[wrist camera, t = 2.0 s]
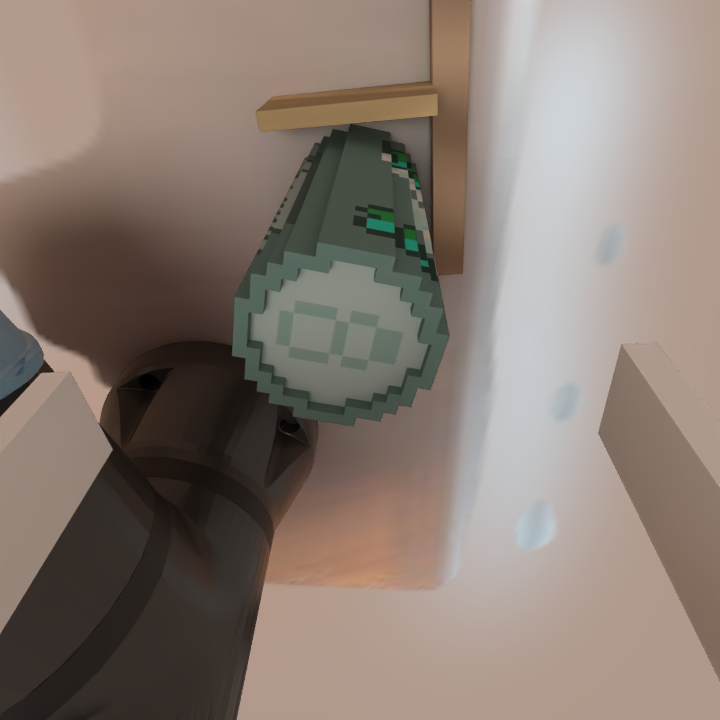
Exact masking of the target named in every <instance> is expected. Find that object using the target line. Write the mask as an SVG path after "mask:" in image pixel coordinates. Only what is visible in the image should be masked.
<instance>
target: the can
mask: <svg viewBox="0 0 720 720" xmlns="http://www.w3.org/2000/svg"><path fill="white" fill-rule="evenodd" d="M448 339H449V331H448V326H447V321H446V315H445V310H444V305H443V300H442V295H441V290H440V285H439V280H438V275H437V269H436V264H435V259H434V254H433V249H432V244H431V239H430V234H429V229H428V223H427V218H426V213H425V208H424V203H423V198H422V193H421V188H420V183H419V179H418V174H417V169H416V164H415V163H411V158H410V154H407V153H405V148H404V144H401V143H396V142H391V140H390V132H386V131H381V130H377V129H372V128H367V127H362V126H358V125H353V124H350V127H349V131H348V132H344V131H339V130H334V129H333V131H332V133H331V136H330V137H326V136H324V137H323V140H322V142H321V144H318V143H315V144H314V146H313V148H312V150H311V152H310V154H309V156H308V158H305V159H304V161H303V163H302V165H301V167H300V169H299V171H298V173H297V175H296V177H295V179H294V181H293V183H292V185H291V187H290V189H289V191H288V193H287V195H286V197H285V199H284V201H283V203H282V204H281V206H280V208H279V210H278V212H277V214H276V216H275V218H274V220H273V222H272V224H271V226H270V228H269V230H268V232H267V234H266V236H265V238H264V240H263V242H262V244H261V246H260V248H259V250H258V252H257V254H256V256H255V258H254V260H253V262H252V264H251V266H250V267H249V269H248V271H247V273H246V275H245V277H244V279H243V281H242V283H241V285H240V287H239V289H238V291H237V293H236V295H235V298H234V322H233V346H232V356H235V357H241V358H246V361H245V377H244V379H246V380H252V381H258V382H257V391H258V392H264V393H270V394H269V403H272V404H278V405H284V406H290V407H294V410H293V417H299V418H305V419H311V420H318V421H324V422H330V423H336V424H342V425H348V426H354V424H355V420H356V418H362V419H368V420H374V421H380V422H381V419H382V415H383V413H389V414H395V415H396V412H397V409H398V406H399V405H400V406H406V407H411V406H412V403H413V400H414V397H415V394H416V391H417V388H421V389H427V390H431V387H432V384H433V381H434V379H435V376H436V373H437V370H438V367H439V364H440V362H441V359H442V356H443V353H444V350H445V347H446V345H447V342H448Z"/></svg>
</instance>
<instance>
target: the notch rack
mask: <svg viewBox="0 0 720 720" xmlns="http://www.w3.org/2000/svg"><path fill="white" fill-rule="evenodd" d="M429 5H430V81H427V82H417V83H407V84H397V85H387V86H377V87H367V88H357V89H347V90H337V91H327V92H317V93H307V94H296V95H286V96H276V97H272V98H271V99H270V100H269V101H267V102H266V103H265V104H264V105H263V106H262V107H260V108H259V109H258V110H257V111H256V116H257V121H258V126H259V131H260V132H265V131H276V130H286V129H297V128H308V127H318V126H329V125H340V124H350V123H361V122H372V121H383V120H393V119H404V118H415V117H425V116H430V123H431V242H432V249H433V254H434V259H435V264H436V269H437V275H450V274H463V249H464V217H465V186H466V154H467V123H468V91H469V59H470V28H471V0H429Z"/></svg>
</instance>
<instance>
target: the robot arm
mask: <svg viewBox="0 0 720 720" xmlns="http://www.w3.org/2000/svg"><path fill="white" fill-rule="evenodd" d="M43 355H44V354H43V351H42V349H41V347H40V345H39V343H38V342H37V340H36V339H35V338H34V337H33V336H32V335H30V334H29V333H27V332H25V331H22V330H20V329H18V328H17V327H16V326H15V325H14V324H13V323H12V322H11V321H10V320H9V319H8V318H7V317H6V316H5V315H4V313H3V312H2V311H1V310H0V720H236V719H237V714H238V709H239V705H240V700H241V694H242V689H243V685H244V680H245V675H246V670H247V665H248V660H249V655H250V650H251V645H252V640H253V635H254V630H255V624H256V620H257V615H258V610H259V605H260V600H261V595H262V590H263V585H264V580H265V575H266V570H267V565H268V561H269V556H270V550H271V546H272V541H273V536H274V532H275V530H276V528H277V526H278V525H279V523H280V521H281V520H282V518H283V517H284V515H285V513H286V512H287V510H288V508H289V507H290V505H291V504H292V502H293V500H294V499H295V497H296V496H297V494H298V492H299V491H300V489H301V487H302V486H303V484H304V483H305V481H306V479H307V477H308V475H309V473H310V471H311V468H312V465H313V461H314V456H315V450H316V443H317V435H318V429H317V422H316V420H311V419H305V418H299V417H293V410H294V407H290V406H284V405H278V404H272V403H269V394H270V393H264V392H258V391H257V382H258V381H252V380H246V379H244V377H245V361H246V358H241V357H235V356H232V347H229V346H225V345H220V344H214V343H203V342H186V343H177V344H171V345H166V346H163V347H159V348H156V349H154V350H151V351H149V352H147V353H145V354H143V355H142V356H140V357H138V358H137V359H136V360H134V361H133V362H132V363H131V364H130V365H129V366H128V367H127V368H126V369H125V370H124V372H123V373H122V375H121V376H120V377H119V379H118V380H117V382H116V383H115V384H114V386H113V387H112V389H111V390H110V392H109V394H108V395H107V398H106V400H105V403H104V405H103V408H102V412H101V418H100V423H98V422H97V420H96V418H95V416H94V414H93V412H92V411H91V409H90V407H89V405H88V403H87V401H86V400H85V398H84V396H83V394H82V392H81V390H80V389H79V387H78V385H77V383H76V381H75V380H74V378H73V376H72V374H71V372H54V371H53V370H52V368H51V367H50V366H49V365H48V364H47V363H46V361H45V360H44V359H43ZM598 433H599V435H600V437H601V439H602V441H603V444H604V446H605V448H606V450H607V452H608V454H609V456H610V458H611V459H612V462H613V464H614V466H615V468H616V470H617V472H618V474H619V476H620V478H621V480H622V482H623V484H624V486H625V489H626V490H627V493H628V494H629V497H630V499H631V501H632V503H633V505H634V507H635V509H636V511H637V513H638V515H639V517H640V519H641V521H642V523H643V525H644V527H645V529H646V531H647V533H648V535H649V538H650V540H651V542H652V544H653V546H654V548H655V550H656V552H657V554H658V556H659V558H660V560H661V562H662V564H663V566H664V568H665V570H666V572H667V574H668V576H669V578H670V580H671V582H672V584H673V587H674V589H675V591H676V593H677V595H678V597H679V599H680V601H681V603H682V605H683V607H684V609H685V611H686V613H687V615H688V617H689V619H690V621H691V623H692V625H693V627H694V629H695V631H696V633H697V635H698V637H699V640H700V642H701V644H702V646H703V648H704V650H705V652H706V654H707V656H708V658H709V660H710V662H711V664H712V666H713V668H714V670H715V672H716V674H717V676H718V678H719V680H720V421H719V420H718V418H717V417H716V416H715V415H714V413H713V412H712V411H711V410H710V408H709V407H708V406H707V404H706V403H705V402H704V401H703V399H702V398H701V397H700V396H699V395H698V393H697V392H696V391H695V390H694V388H693V387H692V386H691V384H690V383H689V382H688V381H687V379H686V378H685V377H684V375H683V374H682V373H681V372H680V370H679V369H678V368H677V367H676V365H675V364H674V363H673V362H672V360H671V359H670V358H669V357H668V355H667V354H666V353H665V352H664V350H663V349H662V348H661V347H660V345H659V344H658V343H657V342H655V343H636V344H622V345H621V348H620V352H619V356H618V359H617V363H616V367H615V371H614V375H613V379H612V383H611V387H610V390H609V394H608V398H607V401H606V406H605V409H604V413H603V417H602V421H601V425H600V428H599V432H598Z"/></svg>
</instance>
